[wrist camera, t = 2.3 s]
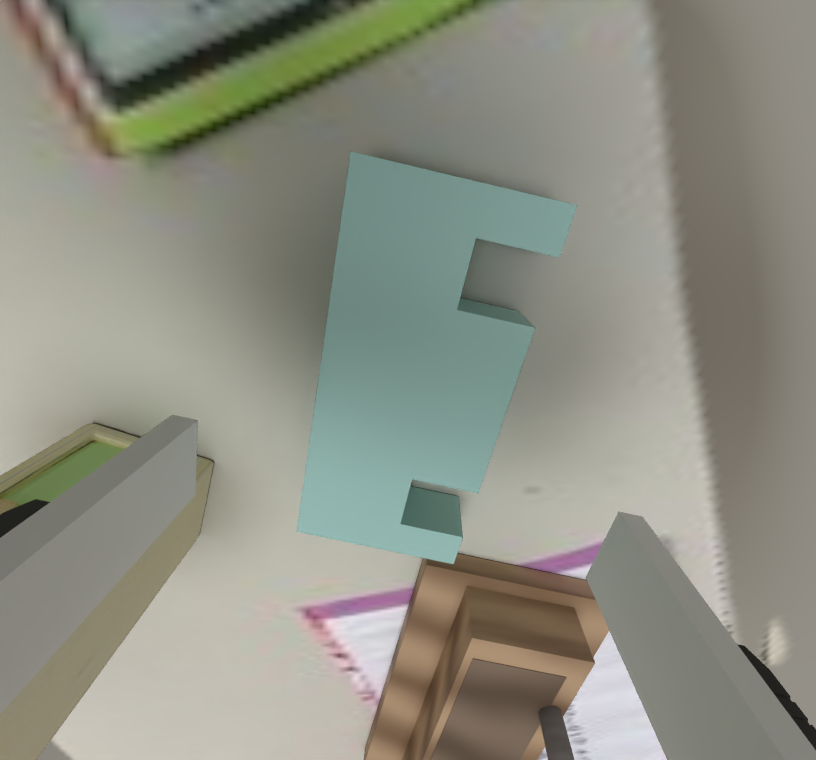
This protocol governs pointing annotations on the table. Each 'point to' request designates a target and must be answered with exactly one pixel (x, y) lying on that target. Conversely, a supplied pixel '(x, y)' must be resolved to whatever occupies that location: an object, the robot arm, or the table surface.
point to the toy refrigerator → (117, 612)
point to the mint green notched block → (415, 355)
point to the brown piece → (486, 664)
